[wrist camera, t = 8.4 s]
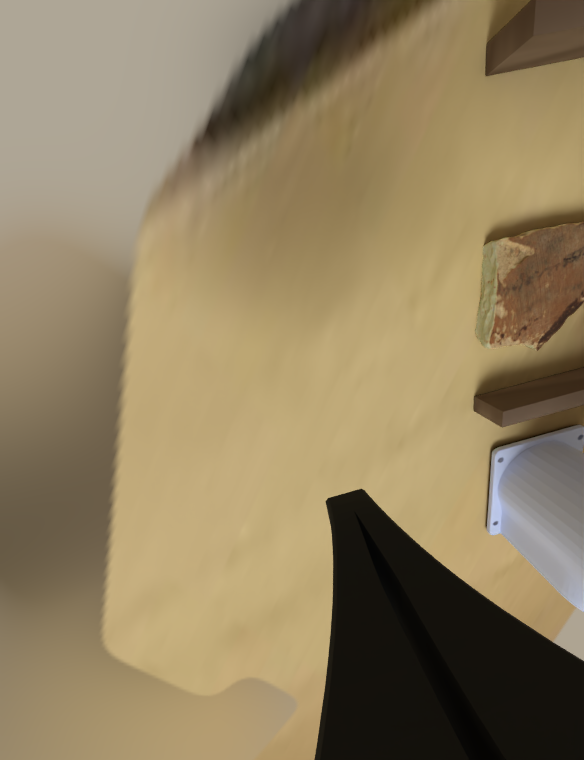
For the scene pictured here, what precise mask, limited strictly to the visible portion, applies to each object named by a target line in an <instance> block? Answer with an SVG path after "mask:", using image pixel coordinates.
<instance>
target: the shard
mask: <svg viewBox="0 0 584 760" xmlns="http://www.w3.org/2000/svg"><path fill="white" fill-rule="evenodd" d="M481 286H482V288H481V293H482V295H481V300H480V304H479V309H478V314H477V325H476V329H475V333H476V335H477V338H478V339H479V341H480V342H481V344H482V346H484V347H485V348H488V349H495V348H501V347H507V346H512V345H525V346H527V347H529V348H531V349H534V350H537V351H538V350H539V349H540V348H541V347H542V346H543V344H544V343H546V342H547V341H548V340H549V339H550V338H551V336H552V335H553V334H555V333H556V332H557V331H558V330H559V329H560V328H561V326H562V325H563V324H564V322H565V320H566V319H567V318H568V317H569V316H570V315H572V314H573V313H574V312H575V311H576V310H577V309H578V308H579V307H580V306H581V305H582V304H583V302H584V221H583V222H579V223H567V224H562V225H557V226H555V227H545V228H542V229H534V230H531V231H526V232H523V233H521V234H519V235H518V236H514V237H504V238H502V239H499V240H493V241H491V242H489V243H487V244H485V245H484V246H483V264H482V283H481Z"/></svg>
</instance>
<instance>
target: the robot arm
mask: <svg viewBox="0 0 584 760" xmlns="http://www.w3.org/2000/svg"><path fill="white" fill-rule="evenodd" d="M583 446H584V426H582V425H576V426H572V427H569V428H565V429H561V430H558V431H554V432H551V433H547V434H544V435H540V436H537V437H533V438H529V439H526V440H522V441H519V442H515V443H512V444H508V445H505V446H501V447H497V448H495V449H494V450H493V452H492V460H491V475H490V490H489V505H488V520H487V531H488V533H489V534H490V535H496V534H499V533H501V534H502V535H503V536H504V537H505V538H506V539H507V540H508V541H509V542H510V543H511V544H512V545H513V546H514V547H515V548H516V549H517V550H518V551H519V552H520V553H521V554H522V555H523V556H524V557H525V558H526V559H527V560H528V561H529V562H530V563H531V564H532V565H533V566H534V568H535V569H536V570H537V571H538V572H539V573H540V574H541V575H542V576H543V577H544V578H545V579H546V580H547V581H548V582H549V583H550V584H551V585H552V586H553V587H554V588H555V589H556V590H557V591H558V592H559V593H560V594H561V595H562V596H563V597H564V598H566V599H567V600H568V601H569V602H570V603H571V604H573V605H574V606H575V607H577V608H578V609H580V610H581V611H583V612H584V453H583V452H582V451H583ZM326 505H327V510H328V515H329V519H330V524H331V530H332V543H333V606H332V622H331V636H330V646H329V657H328V667H327V676H326V684H325V692H324V699H323V706H322V713H321V720H320V727H319V735H318V742H317V748H316V754H315V760H584V661H583V660H581V659H579V658H578V657H576V656H574V655H573V654H571V653H570V652H568V651H566V650H565V649H563V648H561V647H560V646H558V645H556V644H555V643H553V642H552V641H550V640H549V639H547V638H546V637H544V636H543V635H541V634H539V633H538V632H536V631H535V630H533V629H532V628H530V627H529V626H527V625H526V624H524V623H523V622H521V621H520V620H518V619H517V618H515V617H514V616H512V615H511V614H509V613H507V612H506V611H504V610H503V609H501V608H500V607H499V606H497V605H496V604H494V603H493V602H492V601H490V600H489V599H487V598H486V597H485V596H483V595H482V594H480V593H479V592H478V591H476V590H475V589H473V588H472V587H471V586H469V585H468V584H467V583H465V582H464V581H463V580H461V579H460V578H459V577H458V576H456V575H455V574H454V573H452V572H451V571H450V570H449V569H447V568H446V567H445V566H444V565H442V564H441V563H440V562H439V561H437V560H436V559H435V558H434V557H433V556H432V555H430V554H429V553H428V552H427V551H426V550H424V549H423V548H422V547H421V546H420V545H419V544H418V543H416V542H415V541H414V540H413V539H412V538H411V537H410V536H409V535H408V534H407V533H405V532H404V531H403V530H402V529H401V528H400V527H399V526H398V525H397V524H396V523H395V522H394V521H393V520H392V519H391V518H390V517H389V516H388V515H387V514H386V513H385V512H384V511H383V510H382V509H381V508H380V507H379V506H378V505H377V504H376V503H375V502H374V501H373V500H372V498H371V497H370V496H369V495H368V494H367V493H366V492H365V491H364V490H363V489H359V490H355V491H352V492H348V493H345V494H341V495H338V496H334V497H331V498H328V499H327V500H326Z"/></svg>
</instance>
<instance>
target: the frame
mask: <svg viewBox="0 0 584 760" xmlns="http://www.w3.org/2000/svg"><path fill="white" fill-rule="evenodd" d="M582 57H584V0H531V1H530V2H529V3H528V4H527V5H526V6H525V7H524V8H523V9H522V10H521V11H520V12H519V13H518V14H517V15H516V16H515V17H514V18H513V19H512V20H511V21H510V22H509V23H508V24H506V25H505V26H504V27H503V28H502V29H501V30H500V31H499V32H498V33H497V34H496V35H495V36H494V37H493V38H492V39H491V40H490V41H489V42H488V43H487V56H486V76H489V75H494V74H499V73H504V72H510V71H515V70H520V69H525V68H530V67H535V66H541V65H546V64H551V63H556V62H561V61H566V60H571V59H577V58H582ZM581 405H584V367H583V368H579V369H576V370H572V371H568V372H564V373H561V374H557V375H553V376H549V377H546V378H542V379H538V380H534V381H531V382H527V383H523V384H520V385H516V386H512V387H508V388H505V389H501V390H497V391H493V392H490V393H486V394H482V395H478V396H475V397H474V411H475V412H477V413H478V414H480V415H482V416H483V417H485V418H487V419H489V420H490V421H492V422H494V423H495V424H497V425H499V426H500V427H505V426H509V425H513V424H516V423H520V422H523V421H527V420H531V419H534V418H538V417H542V416H545V415H549V414H552V413H556V412H560V411H563V410H567V409H570V408H574V407H578V406H581Z"/></svg>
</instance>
